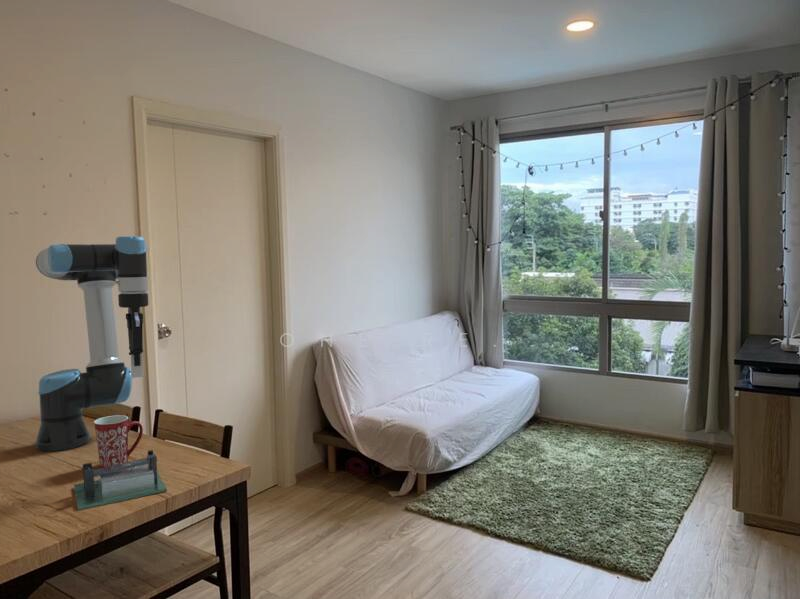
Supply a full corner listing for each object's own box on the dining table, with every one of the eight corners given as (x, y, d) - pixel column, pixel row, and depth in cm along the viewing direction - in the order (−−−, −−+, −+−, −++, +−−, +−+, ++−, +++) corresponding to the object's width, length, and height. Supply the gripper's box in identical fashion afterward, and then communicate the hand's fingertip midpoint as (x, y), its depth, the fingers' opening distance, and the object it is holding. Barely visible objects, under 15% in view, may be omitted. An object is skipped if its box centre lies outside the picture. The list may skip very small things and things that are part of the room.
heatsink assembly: (77, 509, 141) (76, 477, 141) (74, 487, 155) (72, 457, 154) (166, 491, 152) (165, 460, 151) (156, 472, 165) (154, 443, 165)
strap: (86, 479, 148) (85, 473, 148) (85, 476, 150) (84, 469, 150) (157, 462, 156) (156, 456, 156) (155, 459, 159) (154, 453, 159)
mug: (96, 473, 165) (93, 425, 164) (95, 463, 173) (93, 417, 172) (145, 465, 171) (143, 419, 170) (142, 455, 179) (140, 411, 178)
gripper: (115, 291, 168) (119, 374, 170) (121, 294, 157) (125, 382, 159) (144, 290, 172) (147, 371, 173) (151, 293, 160) (155, 379, 162)
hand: (137, 376), depth 166 cm, fingers closed
